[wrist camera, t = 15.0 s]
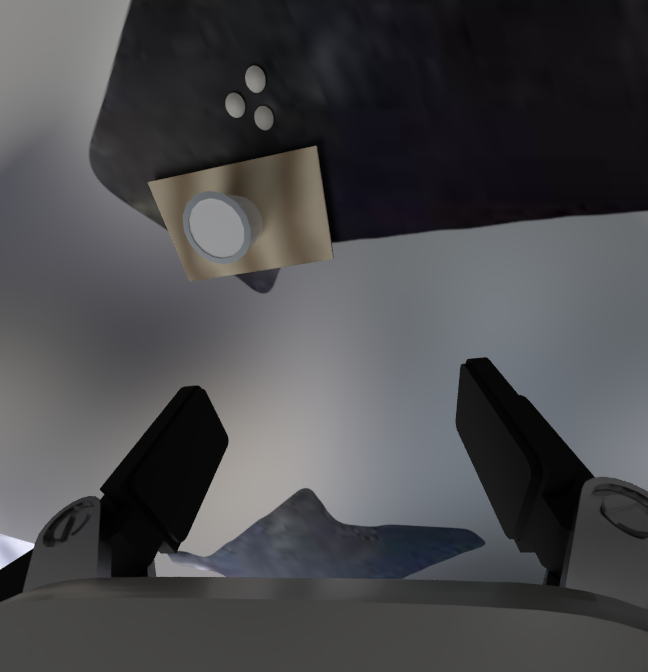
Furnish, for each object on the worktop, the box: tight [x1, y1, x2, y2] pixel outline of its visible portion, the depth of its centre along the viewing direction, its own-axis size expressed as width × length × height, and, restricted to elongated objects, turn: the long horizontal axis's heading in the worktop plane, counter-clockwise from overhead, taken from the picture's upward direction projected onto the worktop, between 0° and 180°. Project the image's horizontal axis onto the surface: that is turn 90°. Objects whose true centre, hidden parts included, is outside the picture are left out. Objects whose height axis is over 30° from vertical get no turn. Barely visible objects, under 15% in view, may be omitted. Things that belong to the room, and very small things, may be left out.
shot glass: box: [183, 191, 263, 264], centre depth 30 cm, size 7×7×7 cm
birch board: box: [148, 146, 334, 281], centre depth 33 cm, size 20×12×1 cm, turn 100°
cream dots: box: [226, 66, 274, 130], centre depth 28 cm, size 5×5×1 cm
